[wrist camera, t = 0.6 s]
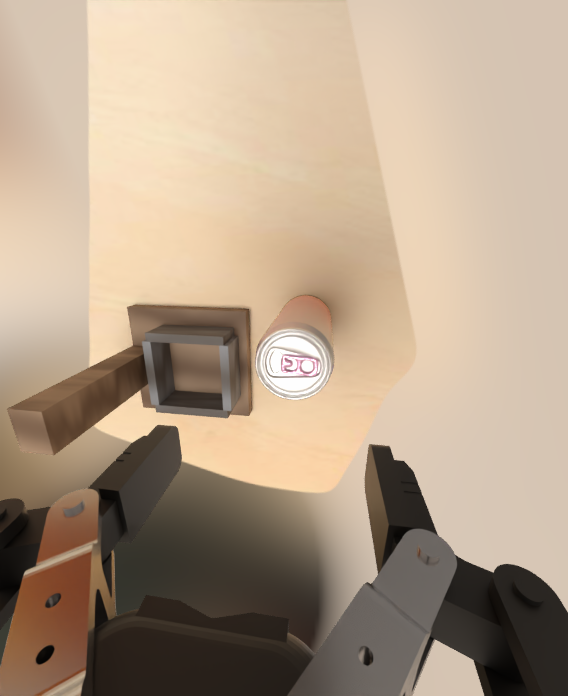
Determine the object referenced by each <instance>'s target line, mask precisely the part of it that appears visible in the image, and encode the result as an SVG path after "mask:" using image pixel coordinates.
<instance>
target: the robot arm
mask: <svg viewBox="0 0 568 696" xmlns="http://www.w3.org/2000/svg"><path fill="white" fill-rule="evenodd" d="M181 460H182V455H181V447H180V440H179V432H178V428H177V427H176V426H165V425H157V426H156V427H155V428H154V429H153V430H152V431H151V432H150V433H149V435H148V436H143V437H141V438H140V439H138V440H136V441H135V442H133V443H132V444H131V445H130V446H129V447H128V448H127V449H126V450H125V451H124V452H123V454H121V455H120V456H119V457H118V458H117V459H116V461H114V462H113V463H112V464H111V465H110V466H109V467H108V468H107V469H106V470H105V471H104V472H103V473H102V474H101V475H100V476H99V478H97V480H96V481H95V482H94V483H93V484H92V485H91V486H90V487H89V488H88V489H80V490H77V491H73V492H71V493H69V494H67V495H65V496H63V497H62V498H60V499H59V500H58V501H56V502H55V503H54V504H53V505H52V506H51V507H46V508H40V509H33V510H26V507H25V505H24V502H23V501H22V500H20V499H7V500H3V501H0V629H1V628H2V627H3V626H4V624H5V623H6V622H7V621H8V619H9V618H10V617H11V616H12V614H13V613H14V615H13V619H12V623H11V627H10V631H9V635H8V639H7V643H6V646H5V650H4V655H3V659H2V662H1V667H0V696H412V695H413V693H414V690H415V688H416V685H417V682H418V680H419V677H420V675H421V673H422V670H423V668H424V666H425V663H426V661H427V658H428V656H429V653H430V651H431V648H432V646H433V643H434V641H435V639H436V640H437V641H440V642H441V643H443V644H445V645H447V646H449V647H450V648H452V649H454V650H456V651H458V652H460V653H462V654H464V655H466V656H467V657H469V658H471V659H473V660H474V663H475V666H476V670H477V673H478V676H479V679H480V682H481V686H482V689H483V692H484V696H568V612H567V611H566V609H565V607H564V606H563V604H562V602H561V601H560V599H559V598H558V596H557V595H556V593H555V592H554V591H553V590H552V589H551V588H550V587H549V586H548V585H547V584H546V583H545V582H544V581H543V580H542V579H541V578H539V577H538V576H536V575H535V574H533V573H532V572H530V571H528V570H526V569H524V568H522V567H519V566H516V565H511V564H503V565H500V566H498V567H497V568H496V569H495V571H494V573H493V572H490V571H488V570H485V569H483V568H480V567H478V566H476V565H473V564H471V563H469V562H466V561H464V560H463V559H461V558H459V557H458V556H456V555H455V554H454V552H453V550H452V549H451V547H450V546H449V545H448V544H447V542H445V541H444V540H443V539H442V538H441V537H439V536H438V534H437V532H436V530H435V527H434V524H433V522H432V519H431V516H430V514H429V511H428V509H427V506H426V503H425V501H424V498H423V496H422V493H421V490H420V488H419V486H418V482H417V480H416V477H415V474H414V472H413V471H412V469H411V468H410V467H409V466H408V465H407V464H406V463H405V462H404V461H397V460H394V458H393V455H392V452H391V449H390V447H389V446H383V445H372V444H370V445H369V448H368V456H367V464H366V472H365V493H366V500H367V506H368V512H369V519H370V525H371V531H372V538H373V543H374V550H375V557H376V563H377V570H378V576H377V577H376V579H375V580H374V581H373V583H372V584H370V583H368V582H367V583H365V584H364V585H363V586H362V588H361V589H360V590H359V591H358V593H357V594H356V596H355V597H354V599H353V600H352V602H351V603H350V605H349V606H348V608H347V609H346V610H345V612H344V614H343V615H342V616H341V618H340V619H339V621H338V622H337V624H336V625H335V627H334V628H333V629H332V631H331V633H330V634H329V636H328V637H327V639H326V640H325V641H324V643H323V644H322V646H321V647H320V649H319V650H318V652H317V653H316V654H314V652H313V651H312V650H311V649H310V648H309V647H308V646H307V645H306V644H304V643H303V642H302V641H301V640H299V639H298V638H297V637H295V636H293V635H291V634H290V633H289V619H287V618H281V617H275V616H269V615H263V614H257V613H247V614H241V615H234V616H226V617H219V618H210V617H208V616H206V615H204V614H202V613H201V612H199V611H197V610H195V609H193V608H192V607H190V606H188V605H186V604H185V603H183V602H181V601H178V600H173V599H167V598H161V597H155V596H149V595H146V596H145V598H144V600H143V602H142V604H141V606H140V608H139V609H136V610H133V611H129V612H126V613H123V614H121V615H118V616H116V608H115V574H114V573H115V572H114V571H115V570H114V552H113V549H114V547H115V546H116V544H117V543H118V542H125V543H132V541H133V539H134V538H135V537H136V535H137V534H138V532H139V531H140V529H141V527H142V526H143V524H144V522H145V521H146V519H147V518H148V517H149V515H150V514H151V512H152V510H153V509H154V507H155V506H156V504H157V503H158V501H159V500H160V498H161V497H162V495H163V494H164V492H165V491H166V489H167V487H168V486H169V484H170V483H171V481H172V480H173V478H174V476H175V475H176V474H177V472H178V470H179V468H180V465H181Z"/></svg>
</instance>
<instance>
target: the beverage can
mask: <svg viewBox="0 0 568 696" xmlns="http://www.w3.org/2000/svg"><path fill="white" fill-rule="evenodd" d="M255 367H256V372H257V375H258V377H259V379H260V381H261V382H262V384H263V385H264V386H265V387H266V388H267V389H268V390H269V391H270V392H272V393H273V394H275V395H277V396H279V397H281V398H285V399H290V400H301V399H305V398H309V397H311V396H313V395H315V394H317V393H318V392H319V391H320V390H322V388H323V387H324V386H325V385H326V383H327V382H328V380H329V378H330V375H331V373H332V371H333V367H334V351H333V338H332V324H331V315H330V312H329V309H328V308H327V306H326V305H325V304H324V303H323V302H322V301H321V300H320V299H318V298H316V297H313V296H308V295H303V296H298V297H295V298H293V299H292V300H290V301H289V302H288V303H287V304H286V305H285V307H284V308H283V309H282V311H281V312H280V313H279V315H278V316H277V318H276V319H275V320H274V322H273V323H272V325H271V326H270V327H269V329H268V330H267V331H266V333H265V334H264V336H263V337H262V339H261V340H260V342H259V344H258V347H257V351H256V358H255Z"/></svg>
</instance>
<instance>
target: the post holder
mask: <svg viewBox="0 0 568 696" xmlns="http://www.w3.org/2000/svg"><path fill="white" fill-rule="evenodd" d="M127 309H128V315H129V321H130V327H131V334H132V340H133V346H132V347H130V348H128V349H126V350H124V351H122V352H120V353H118V354H116V355H114V356H112V357H110V358H108V359H106V360H104V361H102V362H100V363H98V364H96V365H94V366H92V367H90V368H88V369H86V370H84V371H82V372H80V373H78V374H76V375H74V376H72V377H70V378H68V379H66V380H64V381H62V382H60V383H58V384H56V385H54V386H52V387H50V388H48V389H46V390H44V391H42V392H40V393H38V394H36V395H34V396H32V397H30V398H28V399H26V400H24V401H22V402H20V403H18V404H16V405H14V406H12V407H10V408H8V409H7V410H8V413H9V416H10V419H11V422H12V425H13V428H14V431H15V435H16V438H17V441H18V444H19V446H20V449H21V452H28V453H37V454H46V455H55V454H56V453H58V452H59V451H60V450H62V449H63V448H64V447H66V446H67V445H68V444H69V443H71V442H72V441H73V440H75V439H76V438H77V437H79V436H80V435H81V434H82V433H84V432H85V431H86V430H88V429H89V428H91V427H92V426H93V425H95V424H96V423H97V422H99V421H100V420H101V419H102V418H104V417H105V416H106V415H108V414H109V413H110V412H112V411H113V410H114V409H116V408H117V407H118V406H120V405H121V404H122V403H124V402H125V401H126V400H128V399H129V398H130V397H132V396H133V395H134V394H135V393H137V392H138V391H139V390H141V395H142V402H143V407H146V408H156V412H160V413H172V414H184V415H196V416H208V417H220V418H228V417H229V415H230V414H231V415H243V416H249V415H250V413H251V411H252V404H251V369H250V334H249V309H231V308H204V307H176V306H149V305H133V306H129V307H127Z"/></svg>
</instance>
